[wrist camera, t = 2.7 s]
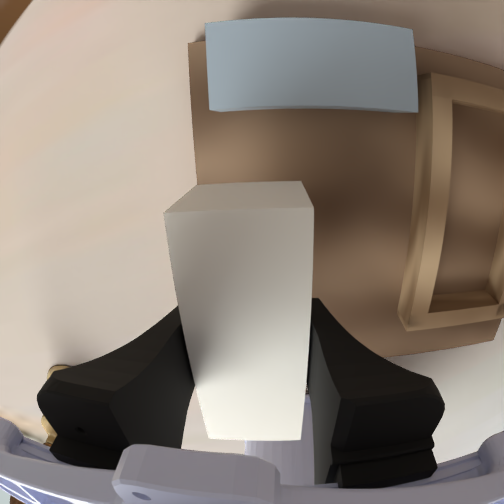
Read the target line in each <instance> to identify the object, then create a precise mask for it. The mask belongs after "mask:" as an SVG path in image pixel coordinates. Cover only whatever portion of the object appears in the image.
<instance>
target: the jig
mask: <svg viewBox="0 0 504 504" xmlns="http://www.w3.org/2000/svg"><path fill="white" fill-rule="evenodd" d="M414 47H415V57H416V70H417V87H418V112H413V113H392V112H380V111H366V110H348V109H260V110H241V111H227V112H218V111H212V110H209V93H208V76H207V56H206V41H200V42H193V43H188V57H189V77H190V95H191V111H192V125H193V138H194V151H195V163H196V174H197V185H205V184H223V183H244V182H274V181H301V182H302V184H303V186H304V188H305V190H306V192H307V194H308V196H309V198H310V200H311V203H312V205H313V207H314V239H313V276H312V298H319V299H320V300H321V301H322V303H323V304H324V305H325V307H326V308H327V309H328V310H329V312H330V313H331V314H332V315H333V316H334V317H335V319H336V320H337V321H338V322H339V323H340V324H341V325H342V326H343V327H344V328H345V329H346V330H347V331H348V332H349V333H350V334H351V335H352V336H353V337H354V338H355V339H357V340H358V341H359V342H360V343H362V344H363V345H364V346H366V347H367V348H368V349H370V350H371V351H373V352H374V353H376V354H377V355H379V356H381V357H382V358H383V357H392V356H401V355H409V354H416V353H423V352H430V351H437V350H443V349H449V348H455V347H461V346H466V345H472V344H477V343H482V342H487V341H492V340H494V337H495V335H496V332H497V329H498V327H499V324H500V321H501V319H502V318H504V70H502V69H499V68H496V67H493V66H490V65H487V64H484V63H481V62H477V61H474V60H471V59H467V58H463V57H460V56H456V55H452V54H448V53H444V52H440V51H435V50H430V49H426V48H421V47H416V46H414Z"/></svg>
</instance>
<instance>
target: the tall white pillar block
mask: <svg viewBox="0 0 504 504" xmlns="http://www.w3.org/2000/svg"><path fill="white" fill-rule="evenodd" d="M164 220H165V227H166V234H167V241H168V248H169V254H170V261H171V267H172V273H173V279H174V285H175V290H176V296H177V302H178V307H179V312H180V317H181V323H182V328H183V332H184V337H185V342H186V347H187V352H188V356H189V361H190V365H191V370H192V374H193V378H194V383H195V387H196V391H197V395H198V399H199V403H200V407H201V411H202V415H203V419H204V422H205V426H206V430H207V434H208V437H209V438H212V439H228V440H255V441H286V440H301V431H302V422H303V412H304V402H305V391H306V379H307V366H308V352H309V337H310V320H311V300H312V276H313V239H314V207H313V205H312V203H311V200H310V198H309V196H308V194H307V192H306V190H305V188H304V186H303V184H302V182H301V181H274V182H244V183H223V184H205V185H196V186H195V187H194V188H192V189H191V190H190V191H189V192H188V193H186V194H185V195H184V196H183V197H182V198H180V199H179V200H178V201H177V202H176V203H175V204H173V205H172V206H171V207H170V208H169V209H168V210H166V211H165V212H164Z"/></svg>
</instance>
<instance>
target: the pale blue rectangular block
mask: <svg viewBox="0 0 504 504" xmlns="http://www.w3.org/2000/svg"><path fill="white" fill-rule="evenodd" d="M205 35H206V56H207V76H208V93H209V110H212V111H218V112H227V111H241V110H260V109H348V110H366V111H380V112H392V113H413V112H418V87H417V70H416V57H415V47H414V38H413V30H412V29H408V28H403V27H397V26H391V25H385V24H378V23H370V22H362V21H352V20H340V19H325V18H257V19H241V20H230V21H220V22H211V23H205Z"/></svg>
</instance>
